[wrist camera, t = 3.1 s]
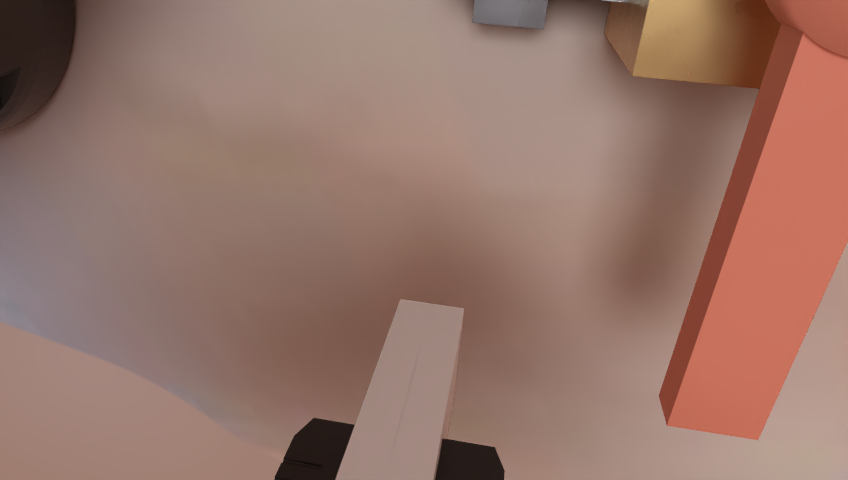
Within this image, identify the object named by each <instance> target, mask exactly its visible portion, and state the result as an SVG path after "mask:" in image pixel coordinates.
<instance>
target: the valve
mask: <svg viewBox="0 0 848 480" xmlns="http://www.w3.org/2000/svg"><path fill="white" fill-rule="evenodd" d="M603 1H611V2H610V7H609V12H608V17H607V22H606V27H605V32H604V34H605V35H606V37H607V39H608V40H609V42H610V43H611V45H612V46H613V48H614V49H615V51H616V52H617V54H618V55H619V57H620V58H621V60H622V61H623V63H624V64H625V66H626V67H627V69H628V70H629V72H630V73H631V75H632V76H638V77H648V78H658V79H668V80H678V81H688V82H698V83H708V84H718V85H728V86H738V87H749V88H759V89H760V87H761V83H762V80H763V77H764V74H765V71H766V68H767V65H768V62H769V59H770V56H771V53H772V50H773V47H774V44H775V41H776V38H777V35H778V32H779V29H780V26H781V24H780V23H779V22H778V21H777V19H776V18H775V17H774V15H773V14H772V13H771V11H770V9H769V7H768V5H767V3H766V1H765V0H603ZM547 5H548V0H475V1H474V11H473V21H472V23H482V24H492V25H503V26H514V27H525V28H535V29H544V24H545V18H546V11H547Z"/></svg>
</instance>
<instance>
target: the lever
mask: <svg viewBox="0 0 848 480" xmlns="http://www.w3.org/2000/svg"><path fill="white" fill-rule="evenodd" d="M765 1H766V3H767V5H768V7H769V9H770V11H771V13H772V14H773V15H774V17H775V18H776V19H777V21H778V22H779V23H780V24H781V26H780V29H779V32H778V35H777V38H776V41H775V44H774V47H773V50H772V53H771V56H770V59H769V62H768V65H767V68H766V71H765V74H764V77H763V80H762V83H761V87H760V90H759V93H758V96H757V99H756V102H755V105H754V108H753V111H752V114H751V117H750V120H749V123H748V126H747V129H746V132H745V135H744V138H743V141H742V144H741V147H740V150H739V153H738V157H737V160H736V163H735V166H734V169H733V172H732V175H731V178H730V181H729V184H728V187H727V190H726V193H725V196H724V199H723V202H722V205H721V208H720V211H719V214H718V217H717V220H716V223H715V227H714V230H713V233H712V236H711V239H710V242H709V245H708V248H707V251H706V254H705V257H704V260H703V263H702V266H701V269H700V272H699V275H698V278H697V281H696V284H695V287H694V290H693V293H692V296H691V300H690V303H689V306H688V309H687V312H686V315H685V318H684V321H683V324H682V327H681V330H680V333H679V336H678V339H677V342H676V345H675V348H674V351H673V354H672V357H671V360H670V363H669V366H668V370H667V373H666V376H665V379H664V382H663V385H662V388H661V391H660V394H659V398H660V402H661V405H662V409H663V413H664V416H665V420H666V424H667V426H673V427H679V428H686V429H692V430H698V431H705V432H711V433H717V434H724V435H730V436H736V437H743V438H749V439H755V440H758V439H759V437H760V435H761V432H762V430H763V428H764V426H765V423H766V421H767V419H768V417H769V415H770V412H771V410H772V408H773V406H774V404H775V401H776V399H777V397H778V395H779V392H780V390H781V388H782V386H783V384H784V381H785V379H786V377H787V375H788V373H789V370H790V368H791V366H792V364H793V361H794V359H795V357H796V355H797V353H798V350H799V348H800V346H801V344H802V341H803V339H804V337H805V335H806V333H807V330H808V328H809V326H810V324H811V322H812V319H813V317H814V315H815V313H816V310H817V308H818V306H819V304H820V302H821V299H822V297H823V295H824V293H825V290H826V288H827V286H828V284H829V282H830V279H831V277H832V275H833V273H834V271H835V268H836V266H837V264H838V262H839V259H840V257H841V255H842V253H843V251H844V248H845V246H846V244H847V242H848V0H765Z"/></svg>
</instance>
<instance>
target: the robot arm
mask: <svg viewBox="0 0 848 480" xmlns="http://www.w3.org/2000/svg"><path fill="white" fill-rule="evenodd" d="M73 31H74V0H0V131H2V130H4V129H7V128H9V127H12V126H15V125H17V124H18V123H20V122H22V121H24V120H26V119H27V118H29V117H30V116H32V115H33V114H34V113H35V112H36V111H38V110H39V109H40V108H41V107H42V106H43V105H44V104H45V103H46V102H47V100H48V99H49V98H50V96H51V95H52V94H53V92H54V91H55V89H56V87H57V86H58V84H59V82H60V80H61V78H62V76H63V73H64V71H65V68H66V66H67V62H68V59H69V55H70V51H71V46H72V40H73ZM463 317H464V308H459V307H452V306H445V305H439V304H432V303H425V302H418V301H411V300H405V299H400V301H399V304H398V307H397V310H396V313H395V315H394V318H393V321H392V324H391V326H390V329H389V332H388V335H387V338H386V340H385V343H384V346H383V349H382V351H381V354H380V357H379V360H378V362H377V365H376V368H375V371H374V374H373V376H372V379H371V382H370V385H369V387H368V390H367V393H366V396H365V399H364V401H363V404H362V407H361V410H360V412H359V415H358V418H357V421H356V423H355V425H352V424H346V423H340V422H335V421H329V420H323V419H317V418H313V419H312V420H311V421H310V422H309V423H308V424H307V425H306V426H304V427H303V428H302V429H301V430H300V431H299V432H298V433H297V434H296V435H295V436H294V438H293V440H292V442H291V444H290V446H289V448H288V450H287V452H286V455H285V457H284V460H283V463H281V465H280V467H279V469H278V471H277V474H276V476H275V480H504V472H505V471H504V469H503V466H502V464H501V461H500V459H499V457H498V454H497V452H496V449H495V447H490V446H484V445H478V444H472V443H466V442H460V441H455V440H449V439H447V436H448V430H449V424H450V418H451V412H452V406H453V400H454V393H455V384H456V376H457V367H458V359H459V351H460V342H461V334H462V325H463Z"/></svg>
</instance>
